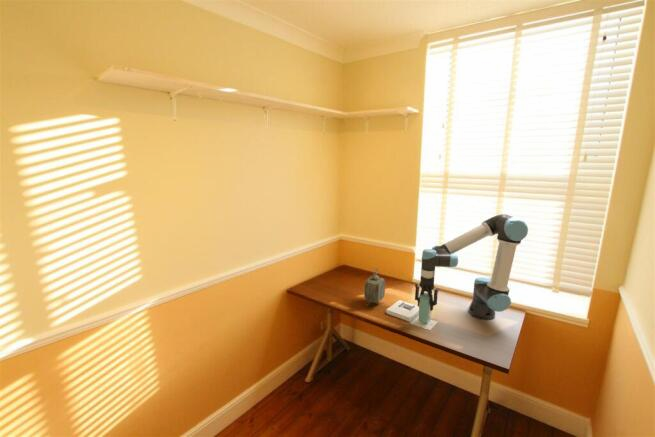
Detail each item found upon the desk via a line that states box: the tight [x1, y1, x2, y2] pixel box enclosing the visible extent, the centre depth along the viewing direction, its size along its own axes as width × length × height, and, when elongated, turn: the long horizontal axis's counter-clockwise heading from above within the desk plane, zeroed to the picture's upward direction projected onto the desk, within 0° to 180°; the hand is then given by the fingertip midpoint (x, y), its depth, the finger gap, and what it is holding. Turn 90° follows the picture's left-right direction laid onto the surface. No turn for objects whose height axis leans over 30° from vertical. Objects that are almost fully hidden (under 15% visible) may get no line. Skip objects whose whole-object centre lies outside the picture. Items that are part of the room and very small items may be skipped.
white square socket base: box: [385, 299, 419, 323], centre depth 199 cm, size 16×18×3 cm
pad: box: [409, 315, 438, 331], centre depth 186 cm, size 12×12×1 cm
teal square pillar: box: [418, 292, 434, 323], centre depth 185 cm, size 6×6×16 cm
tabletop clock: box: [363, 267, 386, 307], centre depth 207 cm, size 14×9×25 cm, turn 149°
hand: (424, 313), depth 185 cm, fingers closed on teal square pillar, 5 cm apart
